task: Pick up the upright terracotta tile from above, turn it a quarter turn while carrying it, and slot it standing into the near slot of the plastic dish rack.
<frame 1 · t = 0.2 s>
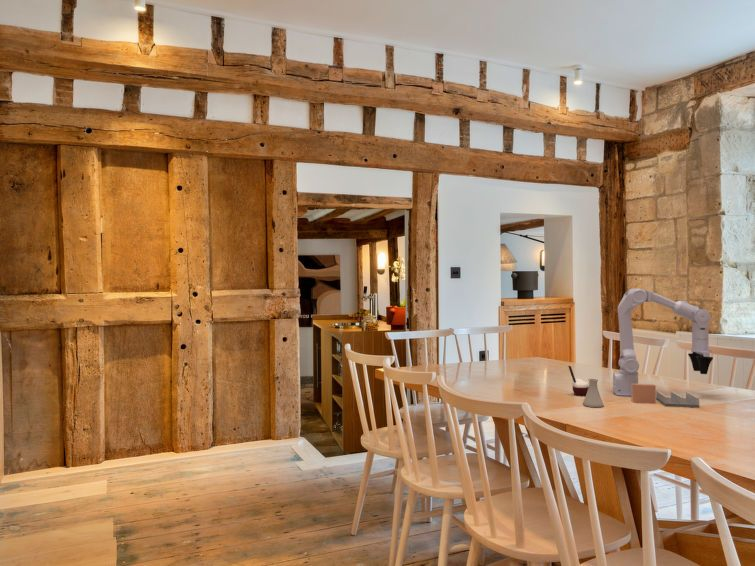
hand: (700, 372, 224), 10 cm above the table, fingers open, 7 cm apart
terracotta tile: (643, 402, 215), on the table
flask: (593, 406, 209), on the table
cocoa: (579, 395, 229), on the table
dish rack: (677, 403, 212), on the table
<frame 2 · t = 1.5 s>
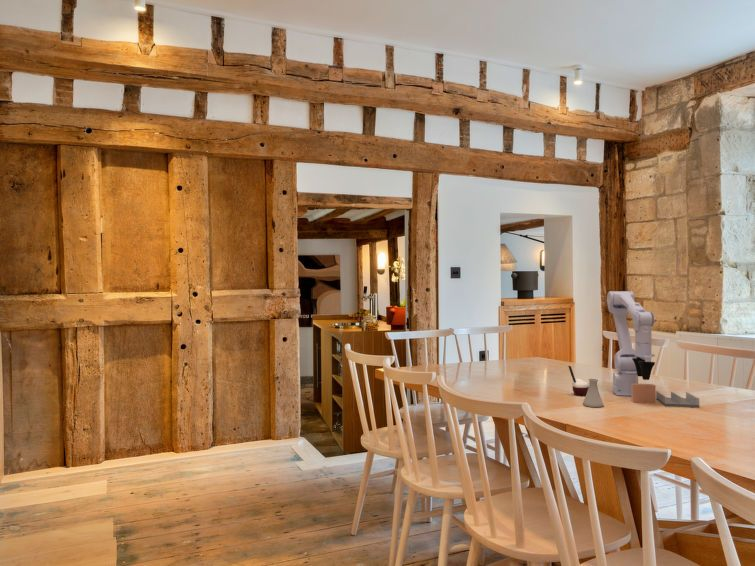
hand: (643, 378, 215), 9 cm above the table, fingers open, 7 cm apart
nothing on the table moved.
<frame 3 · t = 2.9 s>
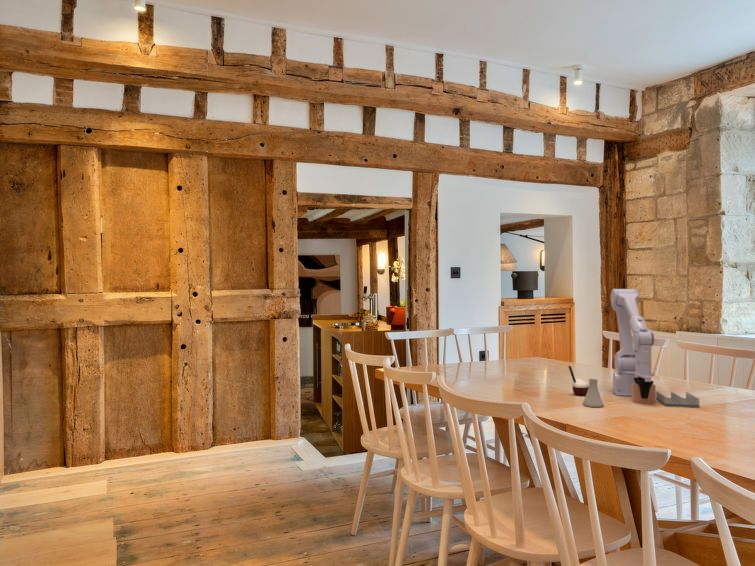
hand: (643, 397, 215), 2 cm above the table, fingers closed on terracotta tile, 3 cm apart
terracotta tile: (643, 402, 215), on the table, touching gripper
everything else where it was.
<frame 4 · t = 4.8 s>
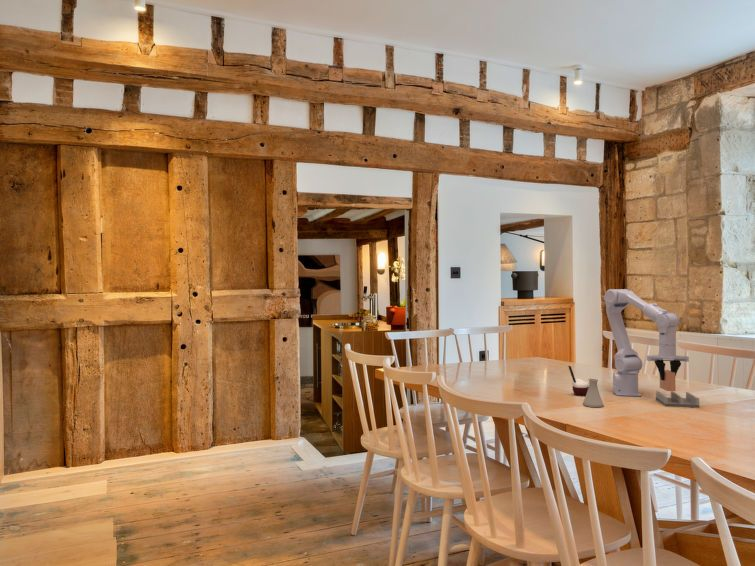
hand: (667, 380, 213), 9 cm above the table, fingers closed on terracotta tile, 3 cm apart
terracotta tile: (667, 389, 213), point 5 cm above the table, touching gripper
everything else where it was.
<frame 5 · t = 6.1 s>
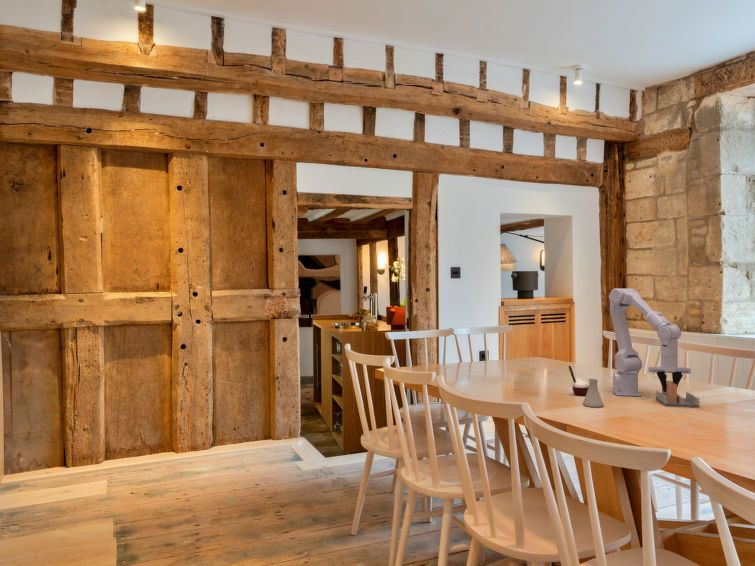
hand: (669, 391, 213), 4 cm above the table, fingers closed on terracotta tile, 3 cm apart
terracotta tile: (669, 400, 213), point 1 cm above the table, touching dish rack, gripper
everything else where it was.
when the fingers open (4 cm above the table, at t = 6.3 s): terracotta tile stays where it is, resting on dish rack.
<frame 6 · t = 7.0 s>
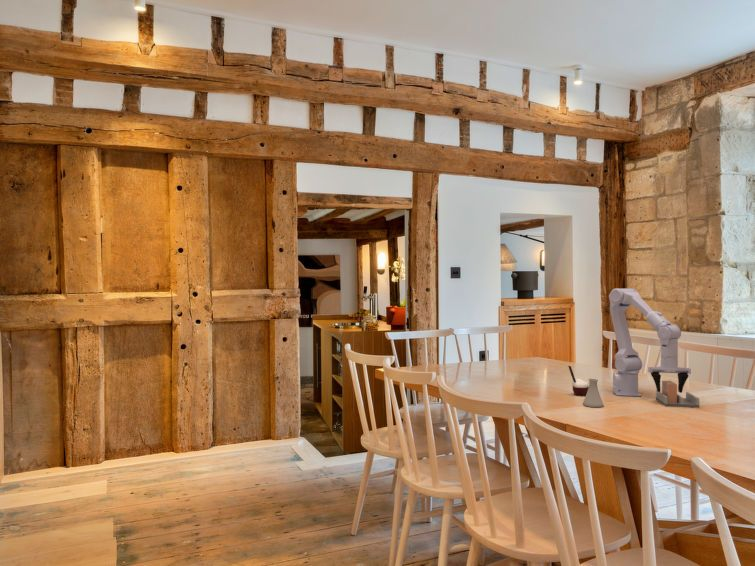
hand: (669, 391, 213), 4 cm above the table, fingers open, 7 cm apart
terracotta tile: (669, 400, 213), point 1 cm above the table, touching dish rack
everything else where it was.
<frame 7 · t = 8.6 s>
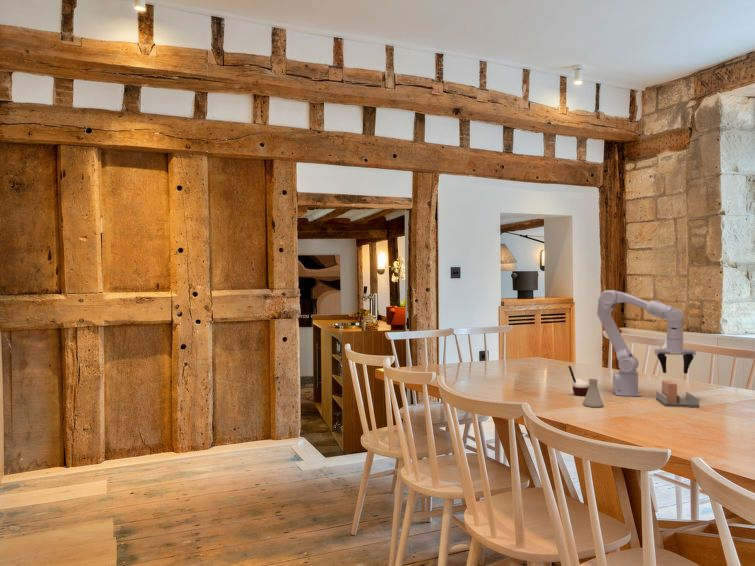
hand: (674, 372, 221), 10 cm above the table, fingers open, 7 cm apart
nothing on the table moved.
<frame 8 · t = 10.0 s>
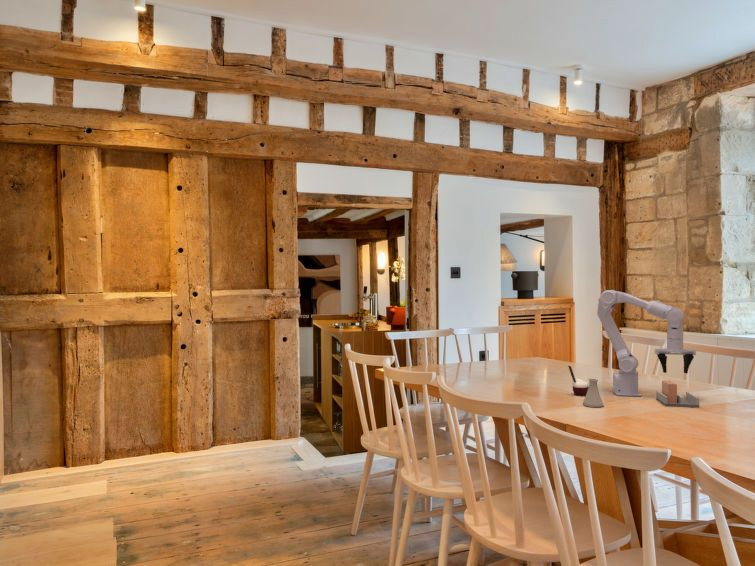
hand: (675, 372, 221), 10 cm above the table, fingers open, 7 cm apart
nothing on the table moved.
at the end: terracotta tile 0.1 cm from the target spot on the dish rack, point 1.0 cm above the dish rack's base; terracotta tile tilted 0°; the gripper is holding nothing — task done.
